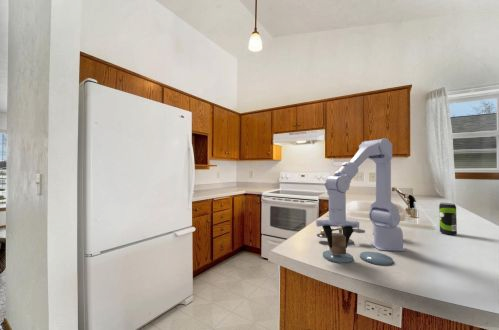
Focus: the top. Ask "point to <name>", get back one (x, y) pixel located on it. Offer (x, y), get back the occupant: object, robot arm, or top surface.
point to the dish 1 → (337, 257)
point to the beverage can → (448, 218)
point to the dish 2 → (376, 258)
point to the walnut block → (338, 243)
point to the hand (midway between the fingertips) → (337, 246)
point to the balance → (323, 235)
